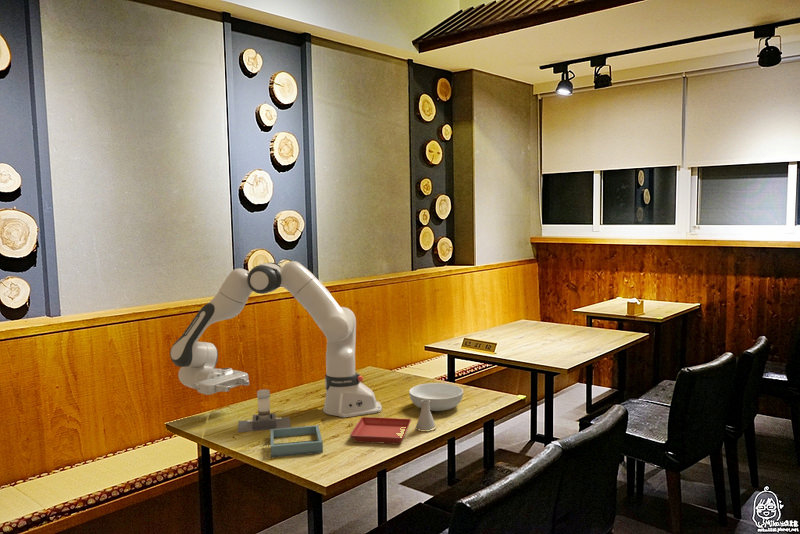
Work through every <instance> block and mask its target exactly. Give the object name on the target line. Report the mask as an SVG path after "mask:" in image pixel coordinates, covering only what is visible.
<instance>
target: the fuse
mask: <svg viewBox="0 0 800 534" xmlns="http://www.w3.org/2000/svg"><path fill="white" fill-rule="evenodd" d="M270 391H271V390H270V389H264V388H263V389H259V390H257V391H256V398H257V414H258V420H270V419H271V418H270V413H271V409H270V407H271V406H270V397H271V392H270Z"/></svg>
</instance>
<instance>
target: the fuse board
mask: <svg viewBox="0 0 800 534" xmlns="http://www.w3.org/2000/svg"><path fill="white" fill-rule="evenodd" d="M270 418H271V419H270V420H258V413H257V414H252V419H247V420H238V424H237V425H238V426H237V433H248V432H257V431H258V432H259V431H270V429H280V428H291V427H292V426H291V420H290V416H285V417H281V416H280V417H277V416H276V412H273V413H272V412H270Z"/></svg>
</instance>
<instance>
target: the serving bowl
mask: <svg viewBox="0 0 800 534" xmlns="http://www.w3.org/2000/svg"><path fill="white" fill-rule="evenodd" d="M408 393H409V398H410V400H411V402H412V403H413V404H414V405H415V406H416V407H418V408H420V409H421V408H422V403H421V400H430V403H429V407H430V410H431V411H430V412H442V410H443V411H446V410H451V409H454V408H455V407H457V406H459V404H460V403H461V401H462V399H463V397H464V389H463V388H462V387H461V386H458V385H455V384H451V383H443V382H428V383H422V384H417V385H414V386H413V387H411V388H410V389H409V391H408Z"/></svg>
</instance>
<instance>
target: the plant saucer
mask: <svg viewBox="0 0 800 534" xmlns="http://www.w3.org/2000/svg"><path fill="white" fill-rule="evenodd" d="M411 422H412V419H411V418H394V417H393V418H392V417H374V416H373V417H371V416H362V417H361V418H360V419H359V420H358V422H357V424H356V425H355V426H354V428H353V429H352V430H351V433H350V434H349V436H350V438H352V439H353V440H354V442H356V443H372V442H384V443H383V444H392V443H399V444H401V442H403V440H404V439H405V436H406V433H407V431H408V428H409V426H410V424H411ZM401 427H406V428H401ZM400 428H401V429H405V431H404V434H403V436H402V438H400V436H398V435H397V434H396V433H401V432H400V431H401V430H400Z"/></svg>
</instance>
